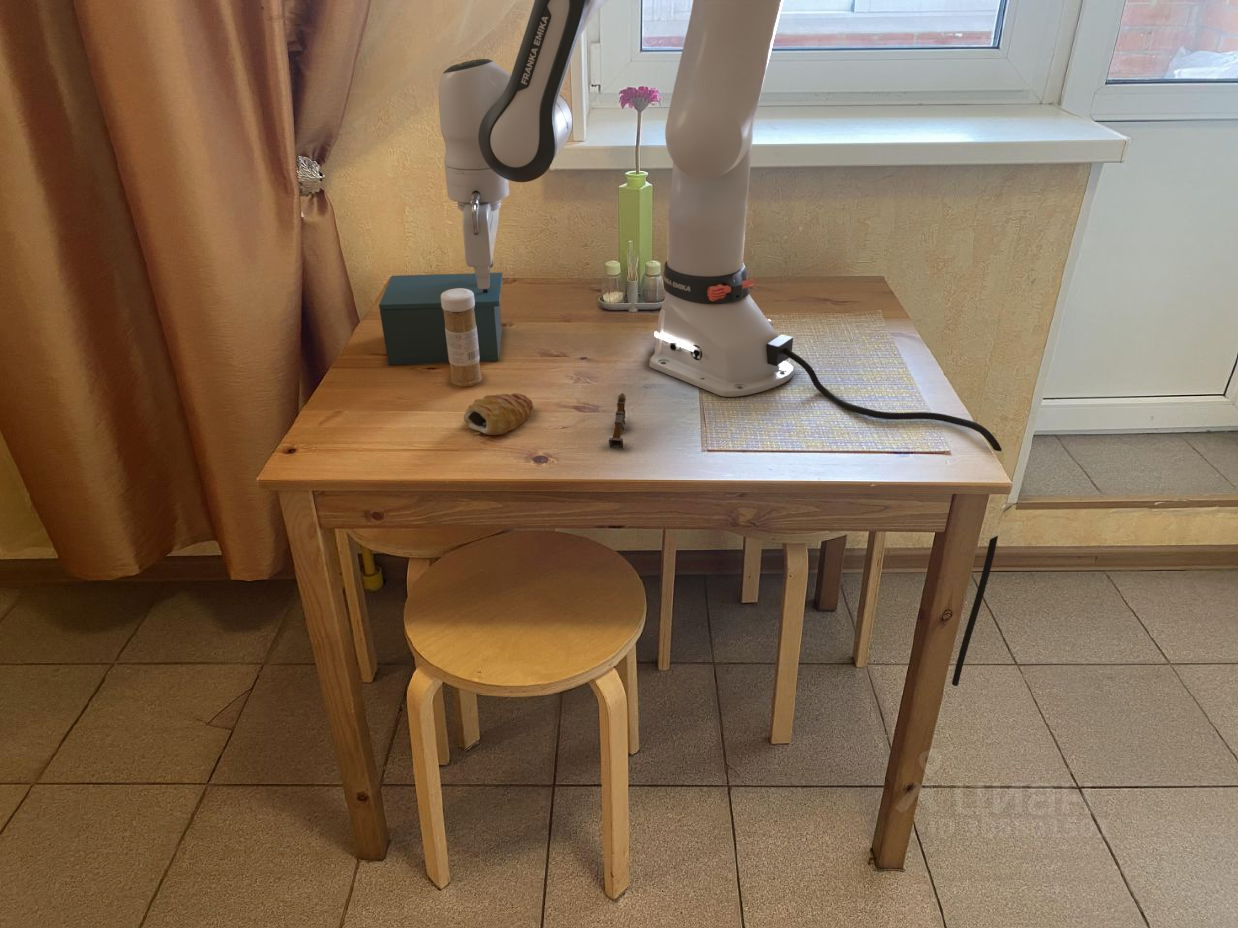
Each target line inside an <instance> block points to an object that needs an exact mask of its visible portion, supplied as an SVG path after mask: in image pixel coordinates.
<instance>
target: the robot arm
mask: <svg viewBox="0 0 1238 928" xmlns="http://www.w3.org/2000/svg"><path fill="white" fill-rule="evenodd" d="M607 1H608V0H534V1H533V5H532V8H531V12H530V14H529V18H528V22H527V25H526V28H525V31H524V34H523V37H522V41H521V44H520V46H519V50H518V53H517V55H516V59H515V62H514V65H513V68H512V72H511V73H510V72H508V71H507V70H505V69H503V68H502V66H500V65H499V64H498V63H497V62H496V61H494V60H493V59H489V58H478V59H472V60H467V61H463V62H460V63H456V64H454V65H451V66H450V67H448V68H446V69H445V70H444V71H443V72H442V74H441V75H440V78H439V83H438V84H439V85H438V107H439V108H438V112H439V125H440V133H441V136H442V138H443V141H444V145H445V152H444V153H445V154H444V159H443V160H444V171H445V182H446V191H447V197H448V199H449V200H450V201H453V202H457V209H458V210H459V211H461V212H462V233H463V247H464V257H465V258H464V259H465V263H466V266H467V267H469V268H473V270H474V273H475V274H476V278H477V287H478V288H479V289H488V288H489V287H490V275H489V266H491V267H490V269H491V268H493V266H494V254H495V253H494V252H495V246H496V240H497V234H498V233H497V232H498V227H499V218H500V209H501V208H502V200H504V199H506V198H507V197H509V196H510V184H509V183H510V182H515V183H529V182H532V181H535V180H537V179H539V178H540V177H542V176H543V175H544V174H545V173H547V171H548V170H549V169H550V167H551V165H552V163H553V161H554V160H555V158H556V157H557V156H558V155H559V153H560V152H561V151H562V149H563V148H564V147H565V146H566V144H567V143H568V141H569V140H570V138H571V135H572V131H573V127H574V126H573V125H574V123H573V122H574V121H573V120H574V119H573V115H572V110H571V108H570V106H569V104H568V102H567V101H566V100H565V98H564V97H563V96H562V94H560V93H561V90H562V88H563V85H564V82H565V78H566V76H567V73H568V70H569V67H570V65H571V61H572V59H573V56H574V52H575V49H576V47H577V44H578V42H579V41H580V38H581V36H582V34H583V32H584V30H585V29H586V27H587V25H588V24H589V22H590V21H591V20H592V18H594V16H595V15H596V14H597V12H598V11H599V10H600V9H601V8H602V7H603V5H605V3H606V2H607ZM783 3H784V0H692V5H691V11H690V16H689V21H688V25H687V26H688V27H687V30H686V34H685V38H684V43H683V47H682V51H681V56H680V59H679V63H678V69H677V73H676V77H675V81H674V85H673V91H672V95H671V100H670V104H669V109H668V113H667V119H666V123H665V129H664V130H665V131H664V136H665V137H664V138H665V144H666V149H667V152H668V154H669V156H670V158H671V160H672V170H671V182H670V183H671V184H670V193H669V203H668V211H667V212H668V213H667V214H668V215H667V251H666V252H667V253H666V254H667V256H666V257H667V258H666V261H665V263H664V264H663V267H664V268H663V272H662V279H663V289H664V291H665V294H664V298H663V302H662V305H661V307H660V310H659V314H658V323H657V329H656V331H654V337H655V347H654V350H653V352H654V353H653V354H652V355H651V357H650V358H649V367H650V369H653V370H656V371H658V372H660V373H663V374H666V375H669V376H671V377H673V378H675V379H678V380H681V381H683V382H685V383H688V384H691V385H693V386H695V387H698V388H700V389H703V390H705V391H707V392H710V393H711V394H715V395H718V396H721V397H725V398H726V397H727V398H729V397H731V398H733V397H743V396H744V397H745V396H750V395H754V394H758V393H761V392H765V391H768V390H771V389H774V388H776V387H779V386H780V385H783V384H785V383H787V382H788V381H789V380H791V379H792V378H793V376H794V375H795V367H794V366H793V365H792V364H790V363H789V362H788V361H786V360H788V359H791V360H793V362H794V363H797V364H798V365H799V366H800V367H801V368H803V370H805V371H806V373H807V375H808V376H809V378H810V380H811V383H812V384H813V386H814V387H815V389H816V390H817V391H818V392H819V393H821V394H822V395H823V396H824V397H825V398H827V399H828V400H830V401H832V402H833V403H835V404H836V405H837V406H839V407H840V408H842V409H844V410H847V411H849V412H853V413H856V414H860V415H864V416H866V417H867V416H868V417H871V418H875V419H882V420H898V421H899V420H932V421H938V422H939V421H940V422H945V423H949V424H952V425H956V426H961V427H965V428H969V429H972V430H973V431H975V432H977V433H979V434H981V436H983V438H985V440H986V441H987V442H988V443H989V445H990V446H991V448H992V450H994V451H995V452H1002V451H1003V449H1002V447H1001V445H1000V443H999V442H998V440H997V439H996V437H995V436H994V435H993V434H992V432H990V431H989V430H988V429H987V428H986V427H984V426H983V425H981V424H980V423H977V422H976V421H974V420H973V421H972V420H969V419H965V418H961V417H956V416H953V415H949V414H944V413H938V412H927V411H914V412H913V411H912V412H890V411H889V412H886V411H880V410H875V409H870V408H867V407H862V406H859V405H855V404H852V403H849V402H846V401H845V400H842V399H840V398H839V397H837V396H836V395H835V394H833V393H832V392H831V391H829V390H828V389H827V388H826V387H825V386H824V385H823V384H822V382H821V381H820V380H819V378H818V376H817V373H816V372H815V370H814V369H813V367H812V366H811V365H810V364H809V363H808V362H807V361H806V360H805V359H803V358H802V357H800V356H799V355H798V354H797V353H795V352H793V343H794V337H793V336H790V335H786V334H780V335H778V334H777V333H778V332H777V331H776V330H775V328H774V323H773V321H772V319H769V318H767V317H766V316H765V315H764V313H763V312H762V310H761V309H760V308H759V306H758V305H757V303H756V302H755V301H754V299H753V297H752V296H751V294H750V293H751V287H755V286H756V285H755V284H754V283H753V282H755V281H756V279H755V278H754V277H753V278H750V279H749V278H748V277H749V276H748V272H747V268H746V265H745V263H744V253H745V239H746V224H747V212H748V201H749V200H748V199H749V188H750V187H749V186H750V176H751V175H750V174H751V165H752V150H753V140H754V127H755V121H756V117H757V112H758V108H759V104H760V99H761V95H762V90H763V86H764V83H765V82H764V81H765V78H766V75H767V69H768V65H769V60H770V57H771V54H772V53H771V52H772V49H773V45H774V40H775V36H776V31H777V28H778V24H779V20H780V16H781V15H780V14H781V11H782V7H783ZM752 283H753V284H752ZM998 538H999V535H996V536H994V537H992V538H990V539H989V541H988V545H987V546H988V547H987V552H986V556H985V560H984V564H983V568H982V572H981V576H980V580H979V583H978V587H977V590H976V594H975V597H974V601H973V604H972V608H971V610H970V614H969V617H968V621H967V625H966V628H965V631H964V635H963V639H962V642H961V645H960V649H959V652H958V656H957V660H956V664H955V668H954V672H953V675H952V680H951V685H952V686H954V687H958V686H959V683H960V679H961V674H962V670H963V667H964V663H965V659H966V656H967V652H968V648H969V644H970V642H971V637H972V636H973V635H972V634H973V631H974V628H975V625H976V621H977V618H978V614H979V612H980V608H981V604H982V601H983V598H984V596H985V591H986V588H987V584H988V581H989V577H990V573H991V569H992V567H993V566H992V565H993V562H994V557H995V552H996V549H997V548H996V547H997V544H998Z"/></svg>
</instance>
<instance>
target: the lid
mask: <svg viewBox="0 0 1238 928" xmlns="http://www.w3.org/2000/svg"><path fill="white" fill-rule="evenodd" d="M490 267H491V266H489V275H490V287H489V288H488V289H479V288H478V287H477V278H476V274H475V272H474V273H473V272H472V273H445V274H444V273H441V274H437V273H435V274H402V275H401V274H400V275H391V276H390V278H389V281H388V282H387V286H386V288H385V290H384V292H383V294H382V297H381V300H380V302H379V304H378V308H379V311H380V310H387V309H422V308H442V305H441V294H442V293H443V292H445V291H447V290H450V289H457V288H463V289H468V290H471V291H472V292H473V293H474V300H475V306H474V307H491V306H500V307H501V296H502V288H503V281H504V280H503V278H504V274H503V272H491V268H492V267H491V268H490Z"/></svg>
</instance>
